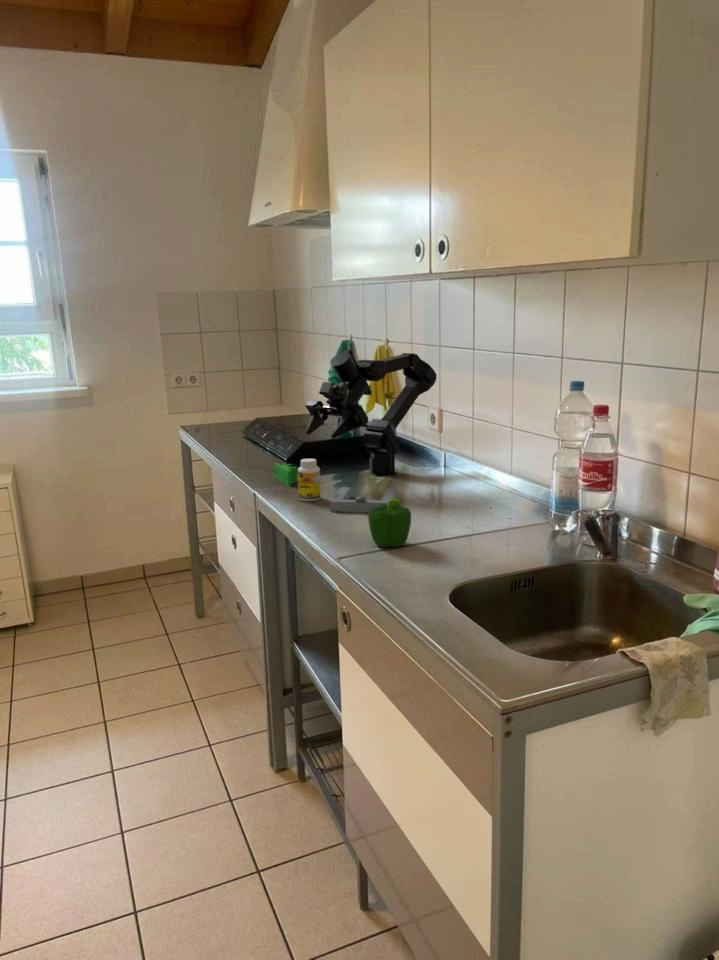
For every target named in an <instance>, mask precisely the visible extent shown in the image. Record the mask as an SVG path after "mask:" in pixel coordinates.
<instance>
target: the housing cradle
mask: <svg viewBox="0 0 719 960" xmlns="http://www.w3.org/2000/svg"><path fill="white" fill-rule="evenodd" d="M351 490H352V489H351V487H350V486H349V487H347V486H343V487H340V488H339V489H338V490H337V491H336V493H335V494H334V495H333V497H332V498H331V499H330V500H329V511H335V512H336V511H342V512H341V513H364V512H370V509H372V508H376V507H377V506H378V505H380V504H385V505H388V503H389V501H390V500H392V499H398V488H396V487H395V488H388V487H387V489H386V490H385V492H384V494H383V496H382V498H381V500H371V499H370V500H369V499H367V497H365V496H357V497H355V499H350V498H351V496H352V494H351V492H352V491H351ZM394 504H396V503H393V505H394ZM335 512H334V513H335ZM336 513H337V512H336Z"/></svg>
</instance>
